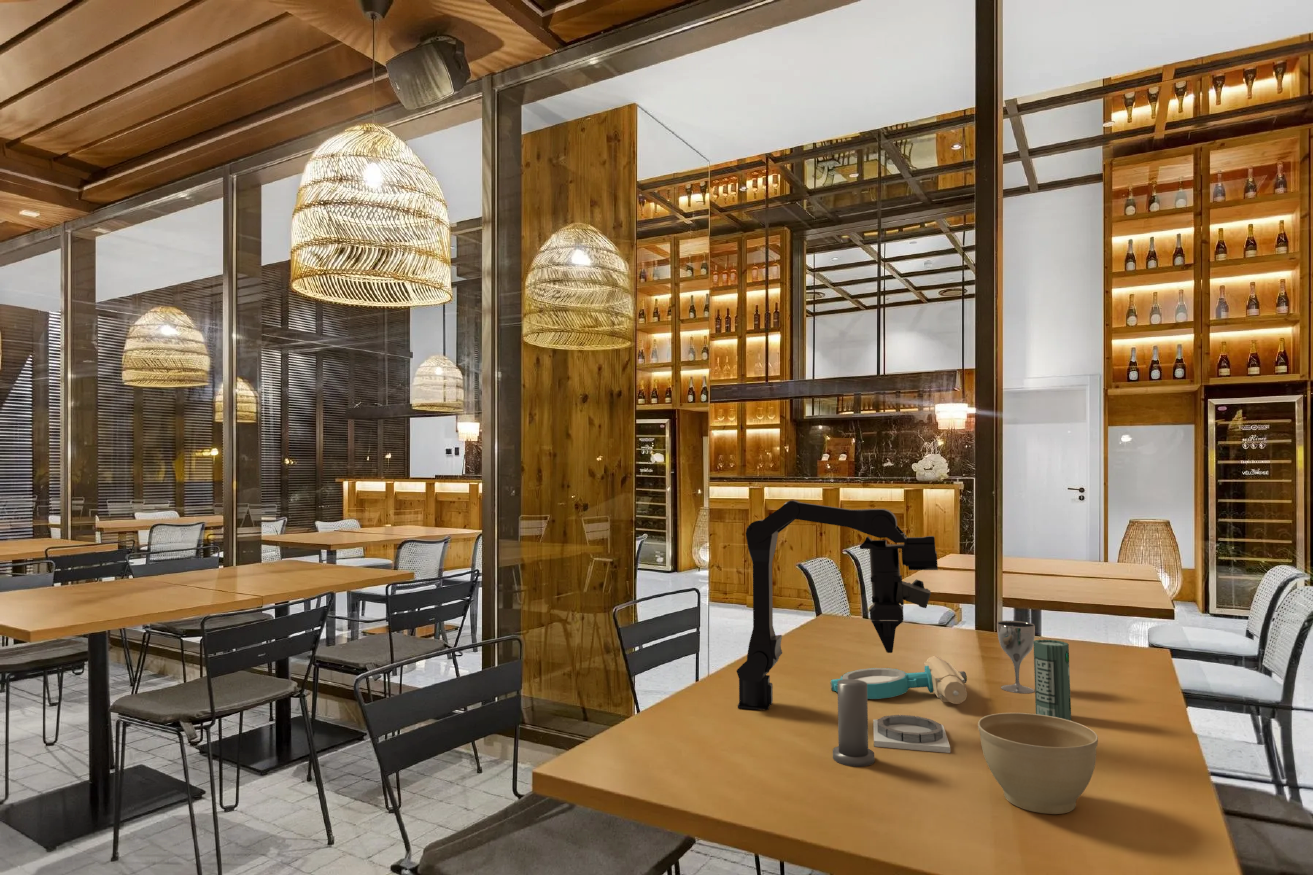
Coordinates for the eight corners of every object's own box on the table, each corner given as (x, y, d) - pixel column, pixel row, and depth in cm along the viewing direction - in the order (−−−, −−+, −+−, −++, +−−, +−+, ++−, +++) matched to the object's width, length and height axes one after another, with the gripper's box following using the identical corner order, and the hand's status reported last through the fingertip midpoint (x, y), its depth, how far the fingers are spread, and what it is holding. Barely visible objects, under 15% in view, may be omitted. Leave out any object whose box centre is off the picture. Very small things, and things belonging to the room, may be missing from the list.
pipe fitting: (831, 764, 129) (830, 686, 130) (833, 750, 136) (832, 676, 137) (874, 768, 127) (873, 689, 128) (874, 753, 134) (872, 679, 135)
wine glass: (999, 691, 174) (997, 625, 174) (998, 683, 181) (996, 619, 182) (1038, 695, 171) (1036, 627, 172) (1035, 686, 178) (1033, 621, 179)
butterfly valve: (834, 720, 162) (982, 712, 156) (830, 687, 163) (977, 678, 157) (831, 687, 188) (957, 679, 182) (827, 659, 189) (953, 650, 183)
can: (1076, 718, 154) (1074, 643, 155) (1059, 723, 151) (1056, 647, 152) (1048, 710, 159) (1045, 638, 160) (1030, 715, 156) (1028, 641, 157)
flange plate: (874, 746, 138) (873, 732, 138) (873, 724, 150) (873, 711, 150) (950, 752, 134) (950, 738, 134) (943, 729, 147) (942, 716, 147)
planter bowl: (997, 773, 125) (995, 705, 126) (1109, 798, 115) (1106, 725, 115) (965, 805, 113) (963, 730, 113) (1088, 837, 102) (1085, 754, 103)
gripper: (928, 576, 144) (933, 659, 143) (925, 563, 162) (930, 637, 161) (867, 577, 147) (872, 658, 147) (871, 564, 165) (876, 636, 165)
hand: (890, 647), depth 155 cm, fingers open, 9 cm apart
